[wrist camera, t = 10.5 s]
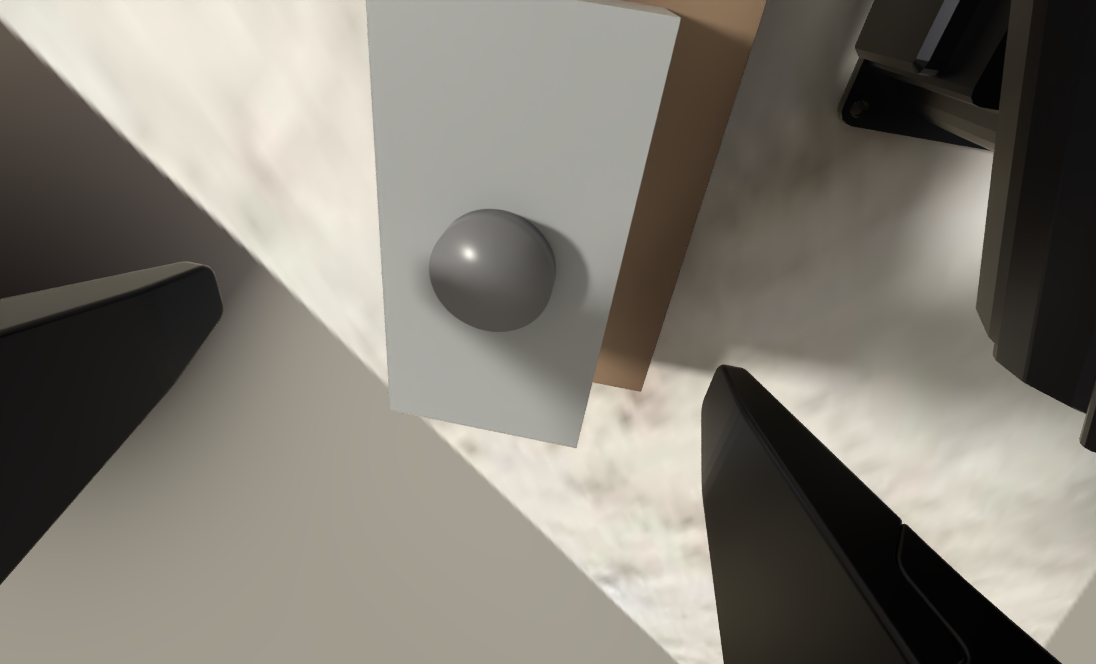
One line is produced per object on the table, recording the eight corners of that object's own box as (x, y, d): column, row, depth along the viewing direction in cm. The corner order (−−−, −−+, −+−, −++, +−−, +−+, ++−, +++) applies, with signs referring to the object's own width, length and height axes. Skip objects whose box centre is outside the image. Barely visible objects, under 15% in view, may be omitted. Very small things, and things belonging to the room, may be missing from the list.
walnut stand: (770, -87, 14) (799, -103, 11) (640, 347, 22) (641, 391, 20) (417, -143, 14) (371, -171, 12) (420, 304, 23) (394, 342, 20)
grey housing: (592, 327, 19) (574, 465, 13) (454, 300, 19) (381, 425, 13) (663, 7, 13) (683, 19, 8) (465, -26, 13) (346, -37, 8)
